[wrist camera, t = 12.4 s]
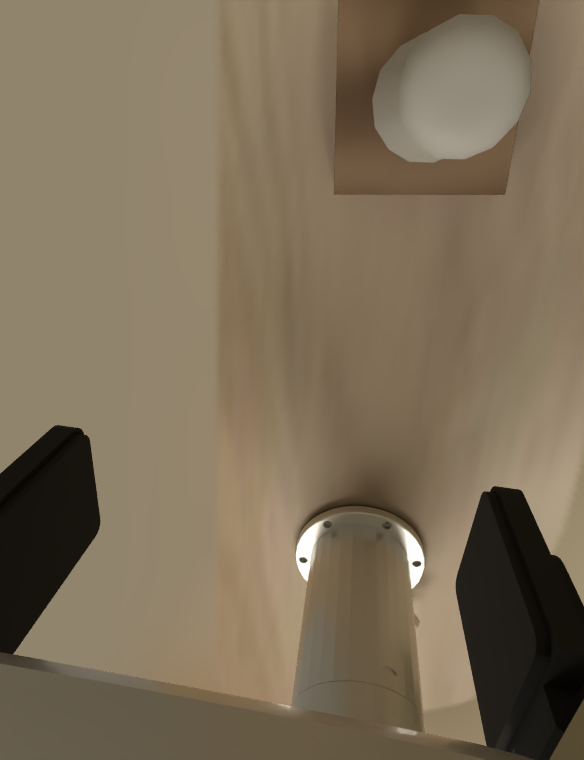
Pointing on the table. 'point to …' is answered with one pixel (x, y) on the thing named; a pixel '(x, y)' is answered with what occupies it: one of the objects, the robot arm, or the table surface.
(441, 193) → the block
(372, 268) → the table surface
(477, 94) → the salt shaker
